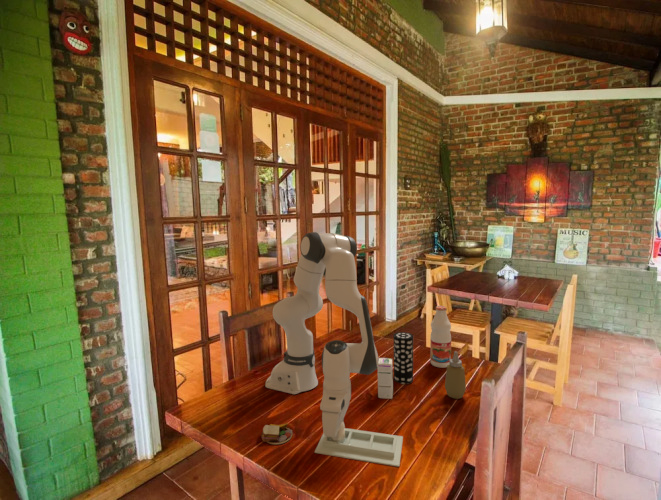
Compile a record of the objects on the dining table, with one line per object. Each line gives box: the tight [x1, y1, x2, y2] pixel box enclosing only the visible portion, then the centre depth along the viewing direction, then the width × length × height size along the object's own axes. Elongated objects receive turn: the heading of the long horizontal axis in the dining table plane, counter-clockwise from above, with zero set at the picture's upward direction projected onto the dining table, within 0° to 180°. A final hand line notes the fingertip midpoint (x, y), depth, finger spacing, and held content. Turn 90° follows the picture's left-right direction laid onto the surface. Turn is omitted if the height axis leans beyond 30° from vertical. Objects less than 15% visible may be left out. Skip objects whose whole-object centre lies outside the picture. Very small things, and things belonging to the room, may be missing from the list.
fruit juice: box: [429, 305, 452, 369], centre depth 173 cm, size 9×9×28 cm
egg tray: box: [314, 427, 404, 468], centre depth 116 cm, size 26×14×2 cm, turn 74°
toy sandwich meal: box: [260, 422, 293, 446], centre depth 121 cm, size 9×10×4 cm
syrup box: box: [376, 357, 394, 400], centre depth 146 cm, size 6×6×14 cm
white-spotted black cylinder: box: [393, 331, 414, 385], centre depth 158 cm, size 8×8×20 cm
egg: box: [331, 421, 346, 443], centre depth 118 cm, size 4×4×7 cm
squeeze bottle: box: [444, 351, 467, 400], centre depth 144 cm, size 8×8×18 cm
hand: (338, 432), depth 118 cm, fingers closed on egg, 4 cm apart
